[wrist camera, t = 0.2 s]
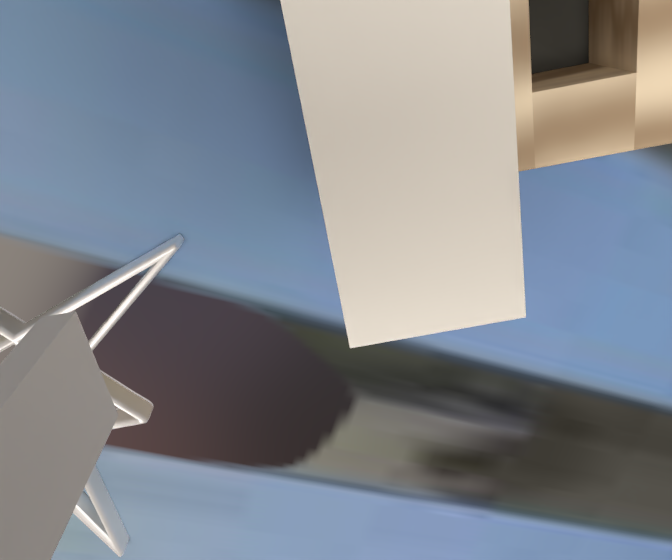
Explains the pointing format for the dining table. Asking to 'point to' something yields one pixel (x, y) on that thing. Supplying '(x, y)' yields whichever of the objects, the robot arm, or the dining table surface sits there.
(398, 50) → the miniature white table
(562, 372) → the dining table surface
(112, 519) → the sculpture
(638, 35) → the socket block
